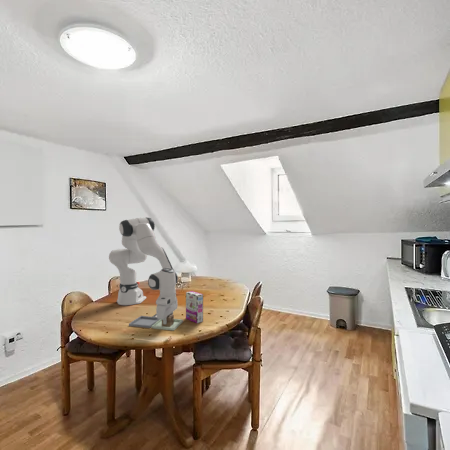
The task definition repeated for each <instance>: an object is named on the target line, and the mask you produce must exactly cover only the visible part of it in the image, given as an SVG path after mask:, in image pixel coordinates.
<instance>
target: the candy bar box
mask: <svg viewBox="0 0 450 450" xmlns="http://www.w3.org/2000/svg"><path fill="white" fill-rule="evenodd" d="M185 319H186V320H188V321H190V322H193V323H195V324H199V323H202V322H204V294H203V293H200V292H196V291H193V290H191V291H187V292H186V291H185Z"/></svg>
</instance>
